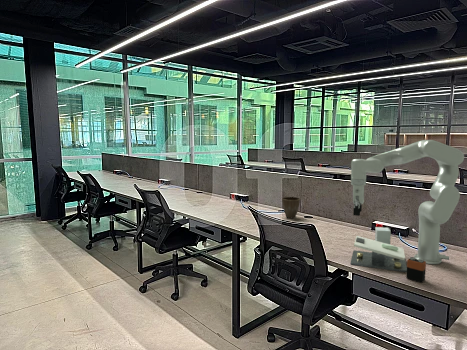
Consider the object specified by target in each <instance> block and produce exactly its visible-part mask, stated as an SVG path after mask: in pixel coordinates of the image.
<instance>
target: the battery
mask: <svg viewBox="0 0 467 350" xmlns="http://www.w3.org/2000/svg"><path fill="white" fill-rule="evenodd" d="M406 267H407V272H406V276H405V278H406V280H412V281H413V282H414V281H415V282H418V283H423V282H424V281H425V280H426V272H427V271H426V268H427V263H426V261H423V260H421V259H419V260H418V259H415V258H414V256H413V257H412V256H410V257H409V258H408V259H407V260H406Z"/></svg>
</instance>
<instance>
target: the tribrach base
mask: <svg viewBox="0 0 467 350" xmlns="http://www.w3.org/2000/svg"><path fill="white" fill-rule="evenodd" d="M350 265H352V266H353V265H354V266H358V267H366V268H373V269H378V270H379V269H380V270H387V271H392V272H393V271H394V272H401V273H407V260H405V261H404V260H401V259H397V258H394V257H390V256H386V255H383V254H379V255H377V253H376V252H372V251H364V250H362V251H361V250H356V249H355V250H354V249H353V252H352V256H351V259H350Z"/></svg>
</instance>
